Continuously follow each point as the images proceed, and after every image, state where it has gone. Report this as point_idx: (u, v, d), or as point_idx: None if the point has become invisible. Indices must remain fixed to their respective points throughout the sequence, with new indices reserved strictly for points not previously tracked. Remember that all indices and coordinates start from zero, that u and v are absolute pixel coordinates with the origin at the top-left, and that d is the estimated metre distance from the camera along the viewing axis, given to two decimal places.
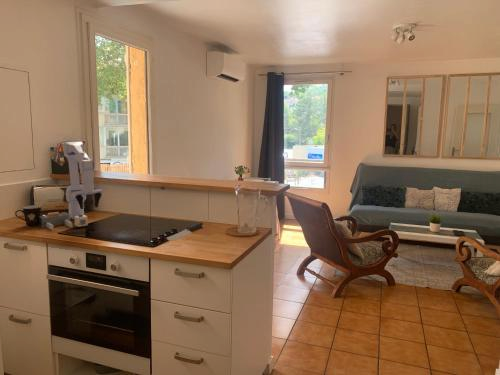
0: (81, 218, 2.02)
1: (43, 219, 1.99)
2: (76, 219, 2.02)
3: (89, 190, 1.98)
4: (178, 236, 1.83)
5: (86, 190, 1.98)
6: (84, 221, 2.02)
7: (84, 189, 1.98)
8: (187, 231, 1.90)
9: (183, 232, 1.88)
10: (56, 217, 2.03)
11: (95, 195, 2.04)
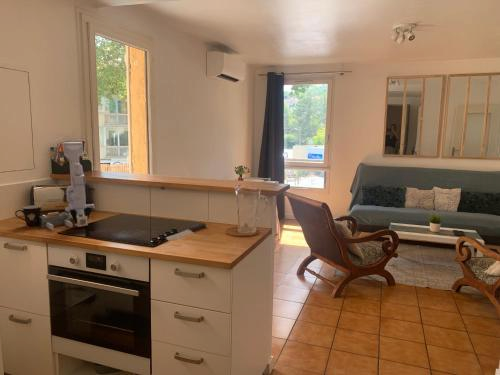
0: (81, 218, 2.02)
1: (43, 219, 1.99)
2: None
3: (81, 205, 2.01)
4: (178, 236, 1.83)
5: (78, 205, 2.00)
6: (84, 221, 2.02)
7: (76, 204, 2.00)
8: (188, 231, 1.90)
9: (184, 232, 1.88)
10: (56, 217, 2.03)
11: (85, 210, 2.05)
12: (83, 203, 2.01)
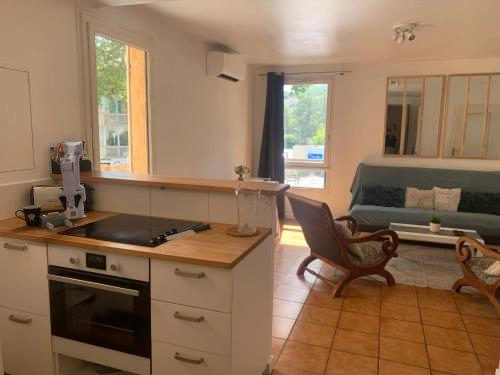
0: (71, 210, 1.99)
1: (43, 219, 1.99)
2: (66, 211, 2.00)
3: (70, 192, 1.98)
4: (178, 236, 1.83)
5: (67, 192, 1.97)
6: (74, 213, 2.00)
7: (65, 191, 1.97)
8: (190, 231, 1.90)
9: (186, 232, 1.88)
10: (56, 217, 2.03)
11: (75, 197, 2.03)
12: (73, 189, 1.99)
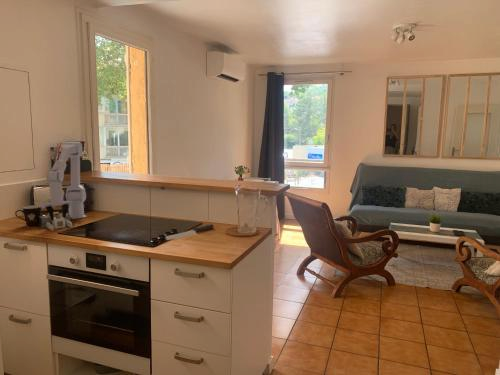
0: (58, 220, 1.98)
1: (43, 219, 1.99)
2: (53, 221, 1.98)
3: (57, 201, 1.97)
4: (179, 236, 1.83)
5: (54, 202, 1.96)
6: (61, 223, 1.98)
7: (52, 201, 1.96)
8: (192, 231, 1.89)
9: (187, 232, 1.87)
10: None
11: (62, 207, 2.01)
12: (60, 199, 1.97)
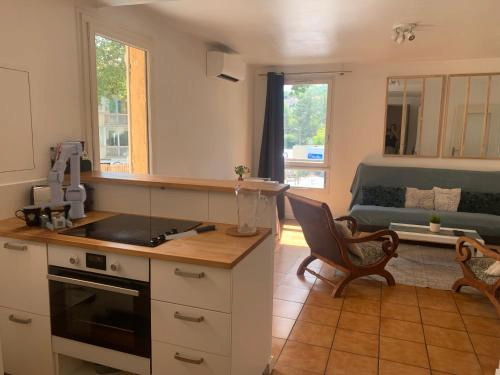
0: (58, 220, 1.98)
1: (43, 219, 1.99)
2: (53, 221, 1.98)
3: (58, 202, 1.97)
4: (179, 236, 1.83)
5: (54, 202, 1.96)
6: (61, 223, 1.98)
7: (52, 201, 1.96)
8: (193, 231, 1.89)
9: (188, 232, 1.87)
10: None
11: (65, 207, 2.02)
12: (60, 200, 1.98)
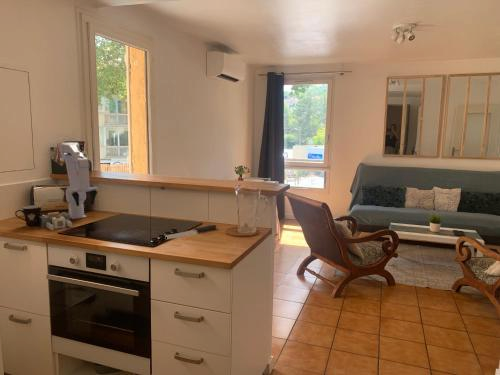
0: (58, 220, 1.98)
1: (43, 219, 1.99)
2: (53, 221, 1.98)
3: (85, 188, 2.05)
4: (179, 235, 1.84)
5: (82, 188, 2.04)
6: (61, 223, 1.98)
7: (80, 187, 2.04)
8: (193, 231, 1.90)
9: (188, 232, 1.88)
10: None
11: (91, 192, 2.10)
12: (87, 186, 2.06)
